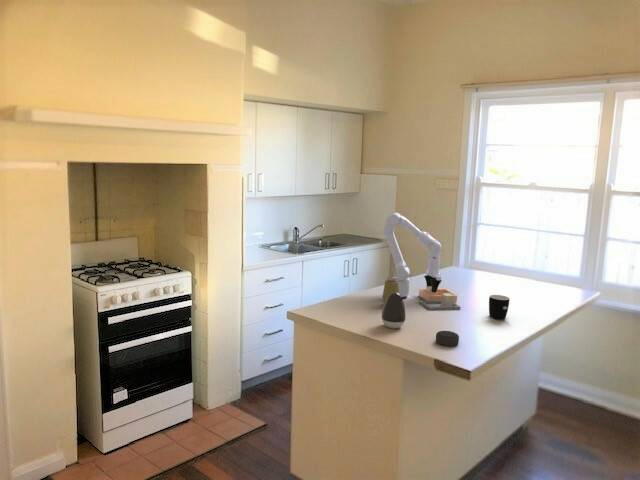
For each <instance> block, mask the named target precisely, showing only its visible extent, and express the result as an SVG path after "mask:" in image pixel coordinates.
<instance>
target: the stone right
mask: <svg viewBox="0 0 640 480" xmlns="http://www.w3.org/2000/svg"><path fill="white" fill-rule="evenodd" d="M453 303H455V302H454V295H452V294H450V293H442V299H441V306H443V307H453Z"/></svg>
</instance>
